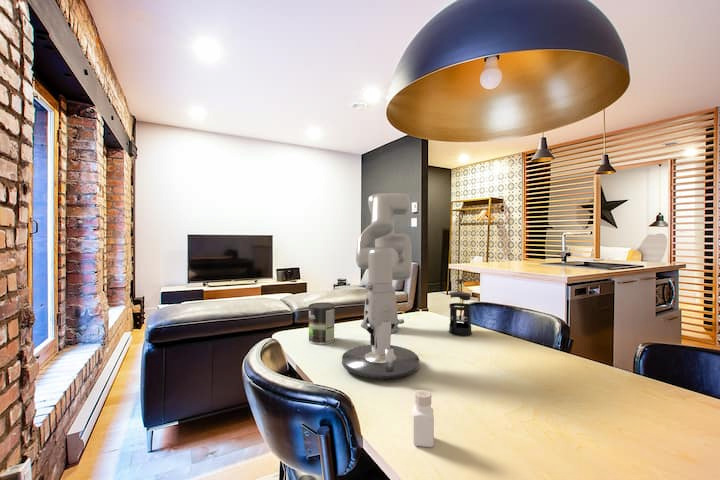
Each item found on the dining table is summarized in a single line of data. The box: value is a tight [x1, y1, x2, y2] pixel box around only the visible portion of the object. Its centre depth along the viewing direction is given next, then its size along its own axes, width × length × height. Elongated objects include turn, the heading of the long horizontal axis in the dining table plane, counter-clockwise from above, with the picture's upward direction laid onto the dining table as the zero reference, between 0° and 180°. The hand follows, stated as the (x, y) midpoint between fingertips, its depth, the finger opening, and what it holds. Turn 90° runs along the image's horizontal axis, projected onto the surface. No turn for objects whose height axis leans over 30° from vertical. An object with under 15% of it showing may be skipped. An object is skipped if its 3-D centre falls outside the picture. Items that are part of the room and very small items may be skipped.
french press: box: [448, 278, 473, 337], centre depth 135 cm, size 12×9×23 cm
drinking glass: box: [371, 321, 392, 354], centre depth 99 cm, size 7×7×10 cm
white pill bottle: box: [412, 389, 435, 448], centre depth 62 cm, size 4×4×10 cm
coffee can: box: [308, 302, 336, 346], centre depth 125 cm, size 10×10×14 cm
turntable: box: [341, 344, 420, 379], centre depth 99 cm, size 24×24×9 cm
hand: (380, 345), depth 99 cm, fingers closed on drinking glass, 3 cm apart
